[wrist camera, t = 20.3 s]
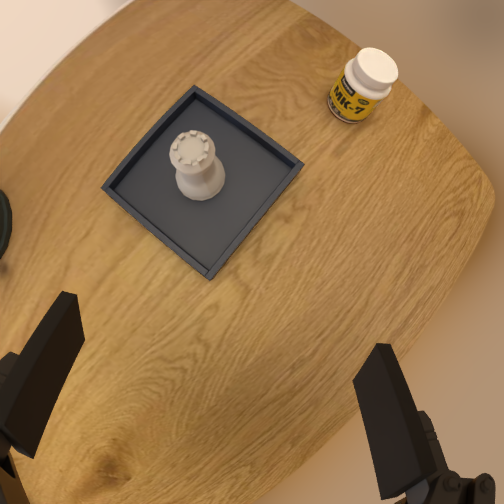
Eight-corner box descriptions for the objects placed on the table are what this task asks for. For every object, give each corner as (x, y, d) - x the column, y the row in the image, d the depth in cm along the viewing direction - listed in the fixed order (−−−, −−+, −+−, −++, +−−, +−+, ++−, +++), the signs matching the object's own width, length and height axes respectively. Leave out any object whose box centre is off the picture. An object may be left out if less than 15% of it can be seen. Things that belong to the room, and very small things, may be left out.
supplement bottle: (318, 103, 30) (342, 58, 22) (342, 80, 30) (369, 36, 22) (353, 132, 30) (387, 95, 22) (375, 107, 30) (410, 70, 22)
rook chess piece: (234, 187, 28) (235, 159, 20) (189, 210, 28) (174, 190, 20) (212, 147, 28) (206, 108, 20) (169, 169, 28) (148, 136, 20)
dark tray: (300, 170, 29) (304, 164, 27) (211, 279, 29) (209, 281, 26) (196, 94, 29) (194, 84, 27) (108, 192, 28) (100, 187, 26)
